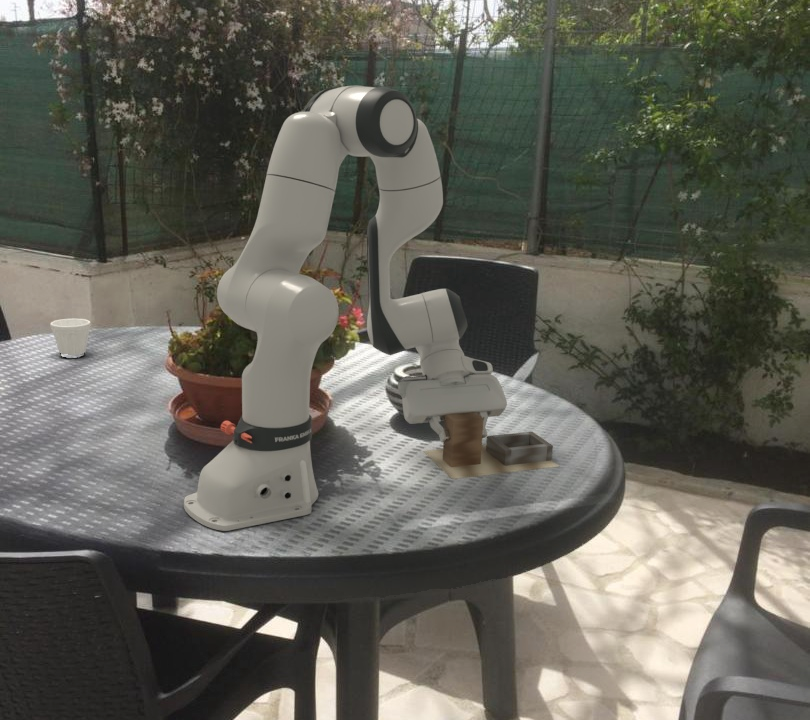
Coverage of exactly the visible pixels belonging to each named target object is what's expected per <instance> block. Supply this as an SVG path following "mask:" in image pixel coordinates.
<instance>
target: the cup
mask: <svg viewBox="0 0 810 720" xmlns="http://www.w3.org/2000/svg"><path fill="white" fill-rule="evenodd" d="M50 329H51V331H52V333H53V337H54V340H55V343H56V346H57V349H58V352H60V353H61V354H68V355H76V354H82V353H84V352H85V353H86V351H87V346H88V341H89V340H88V339H89V334H90V329H91V321H90V320H88V319H86V318H64V319H63V318H62V319H61V318H60V319H55V320H52V321H50ZM60 353H59V354H60Z"/></svg>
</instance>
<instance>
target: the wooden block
mask: <svg viewBox="0 0 810 720" xmlns="http://www.w3.org/2000/svg"><path fill="white" fill-rule="evenodd" d="M483 419H484V418H482V417H481V416H480V415H478V414H477V413H475V412H470V413H459V414H447V415H445V421H444V425H443V428H444V429H445V430H449V434H450V436H451V439H450V440H449V442H443V443H442V444H443V448H442V449H443V460H444V461H445V462H446V463H447V464H448V465H449V466H450V467H458V466H467V465H476V464H481V450H482V445H483V438H482V434H483Z"/></svg>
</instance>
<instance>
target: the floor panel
mask: <svg viewBox="0 0 810 720" xmlns="http://www.w3.org/2000/svg"><path fill="white" fill-rule="evenodd" d="M553 447H554V445H553V444H551V443H550V442H548V441H547V440H545V439H544V438H542V437H541V436H539V435H538V434H537V433H535V432H533V431H525V432H514V433H506V434H505V433H503V434H495V435H494V434H493V435H487V436H486V443H485V444H482V450H481V464H476V465H467V466H458V467H450V466H449V465H448V464H447V463H446V462H445V461H444V460H443V448H440V449H439V448H438V449H431V450H423V451H422V452H423V453H424V454H425V455H426V456H428V458H429V459H430V460H432V461H433V463H435V464H436V465H437V466H438V467H439V468H440V469H441V470H442V471H443V472H444V473H445V474H446V475H447V476H448V477H449V478H450V479H452V480H454V479H456V480H457V479H464V478H465V479H466V478H473V477H481V476H490V475H499V474H507V473H508V474H509V473H515V472H524V471H525V472H526V471H531V470H541V469H550V468H558V467H560V465H559V464H558V463H556V462H555V461H553V460H552V459H553Z"/></svg>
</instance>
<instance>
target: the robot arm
mask: <svg viewBox="0 0 810 720" xmlns="http://www.w3.org/2000/svg"><path fill="white" fill-rule="evenodd" d="M348 155H349V156H352V157H361V158H363V157H369V158H370V159H371V161H372V162H373V163H372V164H374V167H375V174H376V180H377V186H378V191H379V203H378V208H377V210H376V214H375V215H374V216H373V217H372V218H370V219H369V220H368V223H367V224H368V225H367V229H366V230H367V231H366V264H367V265H366V267H367V268H366V269H367V294H368V311H367V318H366V319H367V320H366V328H367V329H366V330H367V334H368V339H369V342H370V344H371V345H372V347H373V348H374V349H376V350H377V351H379V352H381V353H383V354H385V355H388V356H392V355H395V354H399V353H403V352H405V351H407V350H409V349H413V348H415V349H416V351H417V352H418V355H419V358H420V359H419V366H420V369H421V373H422V375H415V376H409V375H407V376H403V378H401V379H399V381H398V383H397V388H398V389H397V390H398V392H399V393H398V394H399V395H400V396H401V398H402V399H401V400H402V401H401V402H402V410H403V412H402V413H403V417H404V419H405V421H406V422H407V423H408V424H410V425H411V424H413V425H414V424H423V423H429V426H430V428H431V429H432V430H433V431H434V432H435V433H436V434H437V435H438V436H439V442H440V443H444V442H449V440H450V439H451V436H450V434H449V430H445V429H444V426H442V425H441V424H440V422H445V415H447V414H459V413H470V412H475V413H477V414H478V415H480V416H481V417H482V418H484V419H483V434H482V439H485V438H487V436H488V432H487V429H486V426H487V423H488V419H489V418H491V417H499V416H501V415H502V414H503V413H504V411H505V410H506V408H507V406H508V401H507V397H506V395H505V393H504V390H503V387H502V384H501V383H500V381H499V379H498V378H497V377H496V376H495V375H493V374H492V373H493V365H492V364H491V362H488V361H484V360H481V359H476V358H473V357H469V356H466V355H465V353H464V351H463V350H462V348H461V346H460V342H459V341H460V340H461V339H462V338H463V336H464V334H465V332H466V330H467V328H468V320H467V317H466V314H465V311H464V308H463V305H462V301H461V297H460V295H458V294H457V293H456V292H455V291H452V290H450V289H449V288H438V289H434V290H429V291H426V292H425V291H423V292H421V293H419V294H418V293H417V294H414V295H409V296H406V297H401V298H395V299H393V298H391V277H390V275H391V273H390V271H391V270H390V267H391V265H390V264H391V260H392V258H393V255H394V254H395V253H396V252H397V251H398V250H399V248H401V247H402V246H403V245H404V244H406V243H407V242H409V241H410V240H411V239H413V238H414V237H416V236H418V235H420V234H422V232H424V231H425V230H427V229H428V228H429V227H430V226H431V225H432V224H433V223H434V222H435V220H436V219H437V218H438V216H439V215H440V214H441V213H440V212H441V210H442V208H443V206H444V205H443V204H444V193H443V183H442V177H441V171H440V166H439V162H438V158H437V154H436V151H435V148H434V144H433V141H432V139H431V136H430V132H429V131H428V128H427V126H426V125H425V123H424V122H423V120H421V119H419V118H417V113H416V110H415V108H414V106H413V104H412V102H411V101H410V99H409V98H408V96H406V95H405V94H404V93H402V92H401V91H399V90H397V89H394V88H390V87H386V86H377V87H373V86H363V85H357V84H356V85H347V86H340V87H329V88H325V89H323V90H320V91H319V92H316V93H315V94H314V95H313V96H312V97H311V98H310V99H309V100H308V102H307V103H306V105H305V107H304V109H303V111H298V112H295V113H293V114H291V115H289V116H288V117H287V118H286V119H285V120H284V122H283V124H282V125H281V128H280V130H279V133H278V135H277V138H276V141H275V143H274V146H273V150H272V153H271V156H270V159H269V163H268V167H267V171H266V177H265V182H264V185H263V189H262V194H261V199H260V204H259V208H258V212H257V217H256V220H255V223H254V226H253V229H252V231H251V233H250V236H249V238H248V240H247V243H246V244H245V247H244V248H243V250H242V252H241V254H240V256H239V257H238V259H237V261H236V262H235V263H234V265H232V266H231V267H230V268H229V269H227V271H225V273H224V274H223V275H222V276H221V278H220V279H219V282H218V284H217V290H216V298H217V301H218V305H219V307H220V309H221V310H222V311H223V313H224V314H225V315H226V316H227V317H228V318H229V319H231V320H232V321H233V322H234V323H235V324H237V325H238V326H239V327H242V328H244V329H247V330H250V331H252V332H256V336H257V344H256V348H255V352H254V356H253V358H252V361H251V362H250V363H249V364H248V365H246V366H245V367H244V369H243V372H242V374H241V405H242V406H241V408H242V409H241V411H242V415H241V416H240V418H239V420H238V422H237V425H236V424H235V423H232V422H231V421H229V420H224V421H223V422H222V423H221V424H220V430H221V432H223V433H225V434H226V435H229V436H232V435H233V436H232V441H231V442H229V444H228V445H226V446H225V447H224V448H223V449H222V450H221V451H220V452H219V453H218V454H217V455H216V456H215V457H214V458H213V459H212V460H210V461H209V462H208V463H207V464H205V465H204V466H203V468H202V469H201V471H200V474H199V477H198V483H197V484H198V485H197V489H196V490H197V491H195V492H193V493H191V494H188V495H186V496H185V497H184V499H183V508H184V510H185V513H187V514H188V516H189V517H190V518H192V520H195V521H196V522H197V523H199V524H201V525H203V526H205V527H208V528H210V529H213V530H218V531H223V532H227V531H233V530H239V529H243V528H249V527H253V526H254V527H255V526H257V525H263V524H269V523H273V522H279V521H282V520H287V519H293V518H297V517H298V518H299V517H302V516H308V515H310V514H312V508H313V507H312V506H313V505H314V503H315V502H316V501H317V500H318V498H319V496H320V495H319V491H318V487H317V484H316V481H315V476H314V475H315V474H314V470H313V463H312V453H311V443H312V437H313V422H312V421H313V419H312V416H311V414H310V399H311V398H310V397H311V396H310V395H311V392H310V391H311V375H312V370H313V365H314V361H315V358H316V355H317V352H318V350H319V348H320V346H321V345H322V344H323V342H325V341H326V340H328V339H329V337H330V336H331V335H332V334H333V332H334V331H335V328H336V326H337V324H338V321H339V317H340V316H339V315H340V314H339V313H340V309H339V303H338V299H337V297H336V296H335V294H334V293H333V292H332V290H331V289H329V288H328V287H327V286H325V285H324V284H323V283H321V282H320V281H318V280H317V279H314V278H313V277H312V276H308V275H305V274H301V273H300V272H301V270H302V267H303V264H304V263H305V261H306V259H307V258H308V256H309V255H310V254H311V252H312V251H313V250H314V249H315V248H317V247H318V246H319V245H320V244H321V243H322V242H323V241H324V240H325V238H326V235H327V232H328V226H329V222H330V218H331V213H332V207H333V204H334V198H335V195H336V188H337V183H338V177H339V171H340V167H341V165H342V163H343V161H344V160H345V158H346V157H347V156H348Z"/></svg>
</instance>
